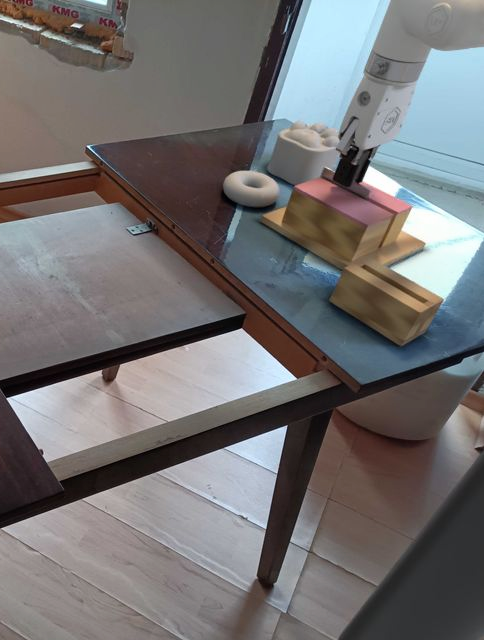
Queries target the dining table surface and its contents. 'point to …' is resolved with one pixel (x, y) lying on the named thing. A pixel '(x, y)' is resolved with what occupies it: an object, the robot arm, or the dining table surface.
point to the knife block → (385, 300)
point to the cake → (339, 225)
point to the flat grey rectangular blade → (355, 186)
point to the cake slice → (392, 206)
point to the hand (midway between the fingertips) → (347, 180)
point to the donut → (251, 188)
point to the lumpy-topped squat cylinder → (304, 152)
